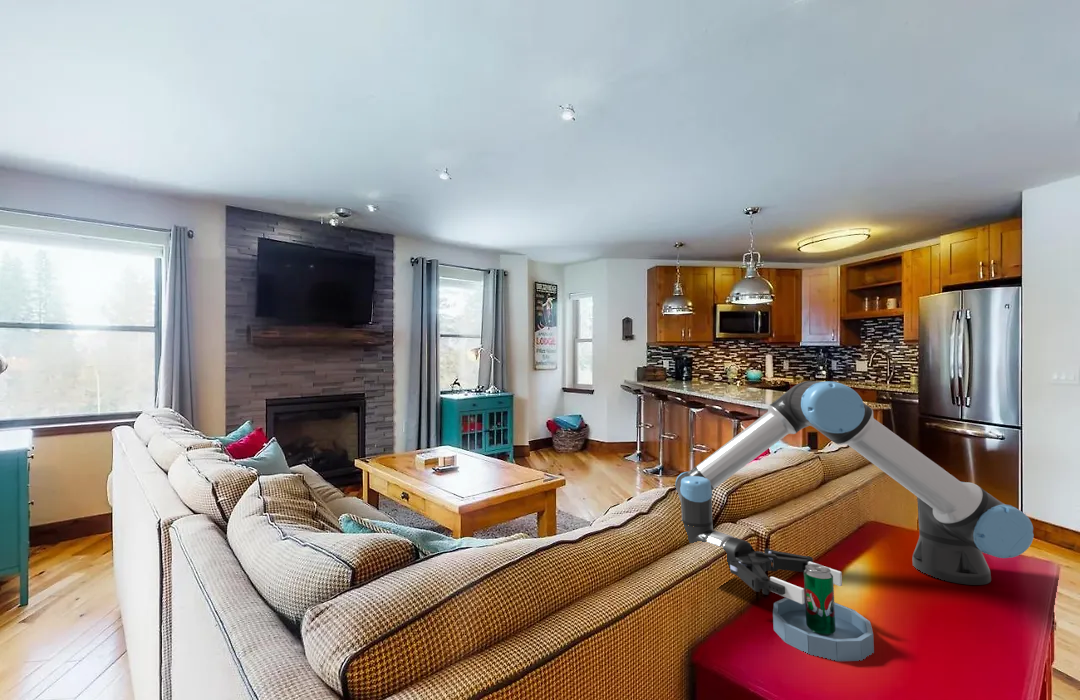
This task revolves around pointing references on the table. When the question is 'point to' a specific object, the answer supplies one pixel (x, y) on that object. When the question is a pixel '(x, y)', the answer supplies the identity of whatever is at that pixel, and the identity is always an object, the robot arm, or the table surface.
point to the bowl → (842, 645)
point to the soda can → (819, 599)
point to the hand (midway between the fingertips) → (822, 587)
